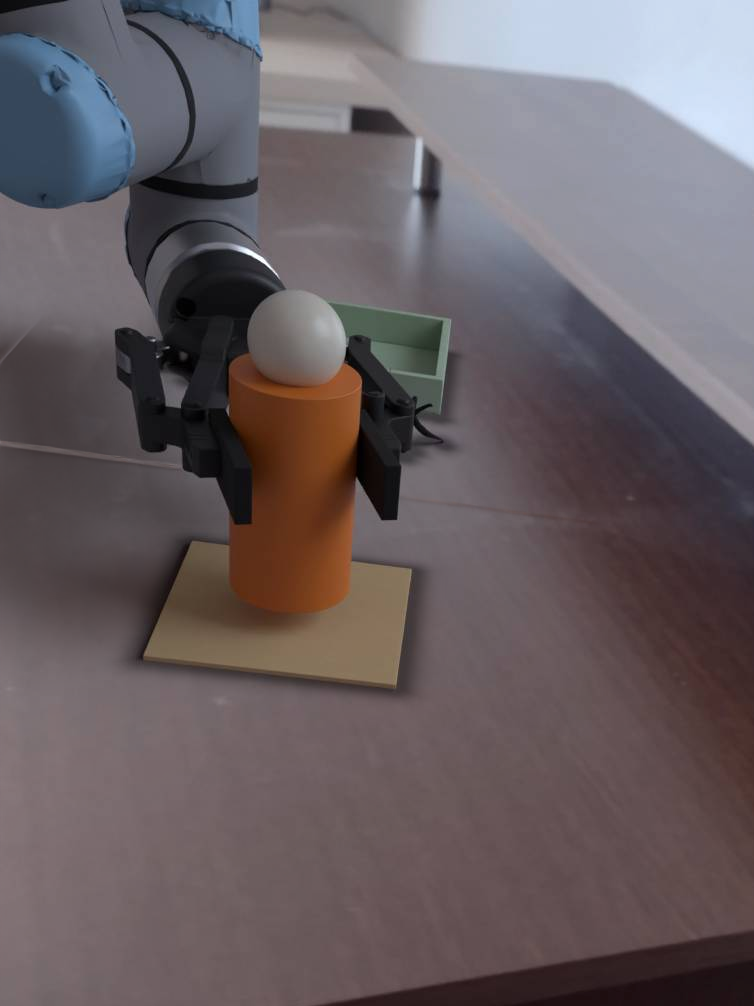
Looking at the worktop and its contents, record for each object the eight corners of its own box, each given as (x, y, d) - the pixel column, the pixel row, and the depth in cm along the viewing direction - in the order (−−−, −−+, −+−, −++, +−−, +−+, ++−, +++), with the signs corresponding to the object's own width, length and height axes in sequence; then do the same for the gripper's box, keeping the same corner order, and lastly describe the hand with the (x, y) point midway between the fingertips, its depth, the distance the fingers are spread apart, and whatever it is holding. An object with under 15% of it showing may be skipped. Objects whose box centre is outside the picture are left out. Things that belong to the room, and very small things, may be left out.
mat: (143, 662, 63) (142, 655, 63) (192, 546, 73) (191, 540, 73) (395, 691, 65) (396, 684, 65) (411, 574, 74) (411, 568, 74)
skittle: (219, 605, 65) (217, 303, 56) (240, 549, 70) (240, 262, 61) (343, 620, 66) (360, 324, 57) (355, 563, 71) (372, 282, 62)
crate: (188, 385, 90) (188, 341, 88) (222, 323, 100) (222, 282, 98) (439, 422, 92) (443, 380, 91) (447, 357, 103) (451, 318, 101)
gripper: (381, 380, 82) (506, 560, 66) (51, 375, 74) (101, 578, 58) (390, 255, 77) (526, 416, 61) (40, 236, 70) (90, 414, 54)
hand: (319, 494), depth 60 cm, fingers closed on skittle, 6 cm apart
